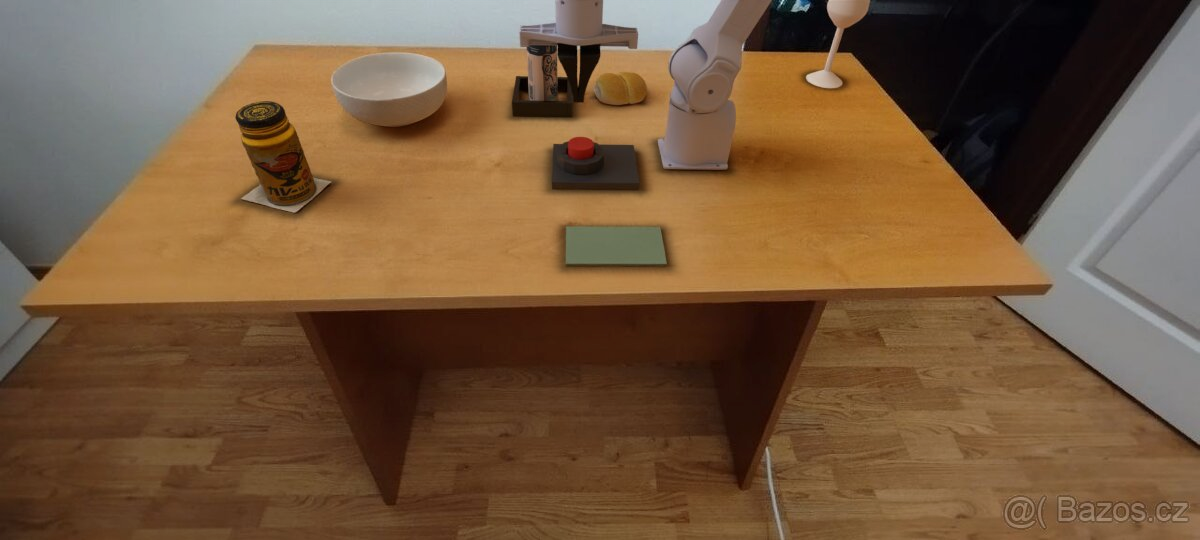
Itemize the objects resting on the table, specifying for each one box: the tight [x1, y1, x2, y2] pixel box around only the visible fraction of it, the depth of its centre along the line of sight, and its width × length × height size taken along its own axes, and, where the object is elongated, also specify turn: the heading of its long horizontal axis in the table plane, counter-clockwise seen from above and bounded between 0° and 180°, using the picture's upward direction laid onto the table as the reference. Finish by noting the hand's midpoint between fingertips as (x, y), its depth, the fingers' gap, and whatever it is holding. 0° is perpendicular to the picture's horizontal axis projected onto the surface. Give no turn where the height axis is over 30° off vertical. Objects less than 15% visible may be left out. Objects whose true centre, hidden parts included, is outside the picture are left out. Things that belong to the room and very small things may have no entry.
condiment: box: [234, 100, 332, 213], centre depth 72 cm, size 7×8×12 cm
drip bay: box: [511, 75, 573, 118], centre depth 96 cm, size 10×10×2 cm
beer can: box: [526, 45, 559, 101], centre depth 93 cm, size 5×5×12 cm
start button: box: [567, 136, 595, 160], centre depth 81 cm, size 4×4×2 cm
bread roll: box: [593, 71, 648, 106], centre depth 99 cm, size 8×9×4 cm
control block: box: [551, 140, 640, 191], centre depth 82 cm, size 12×10×3 cm
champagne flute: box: [805, 0, 871, 89], centre depth 100 cm, size 7×7×24 cm
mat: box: [565, 225, 668, 267], centre depth 71 cm, size 12×7×1 cm, turn 92°
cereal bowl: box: [330, 51, 448, 128], centre depth 90 cm, size 17×17×7 cm
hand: (578, 99), depth 77 cm, fingers closed
